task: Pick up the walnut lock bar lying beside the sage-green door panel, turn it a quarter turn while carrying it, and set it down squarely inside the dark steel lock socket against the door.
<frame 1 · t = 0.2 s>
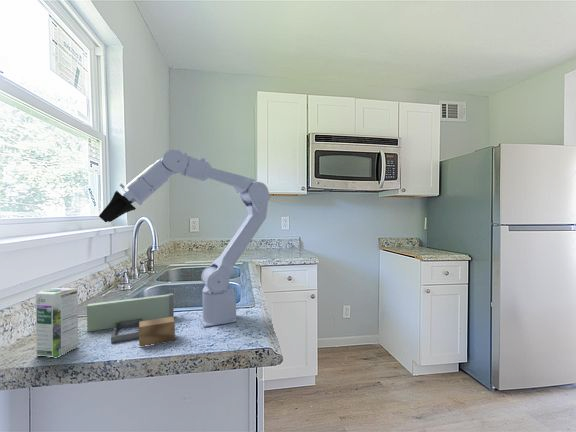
hand: (104, 219, 74), 31 cm above the worktop, tool tilted 45°, fingers open, 7 cm apart
lock bar: (157, 341, 74), on the worktop
syrup box: (58, 352, 68), on the worktop
door panel: (133, 323, 86), on the worktop
lock socket: (127, 332, 79), on the worktop
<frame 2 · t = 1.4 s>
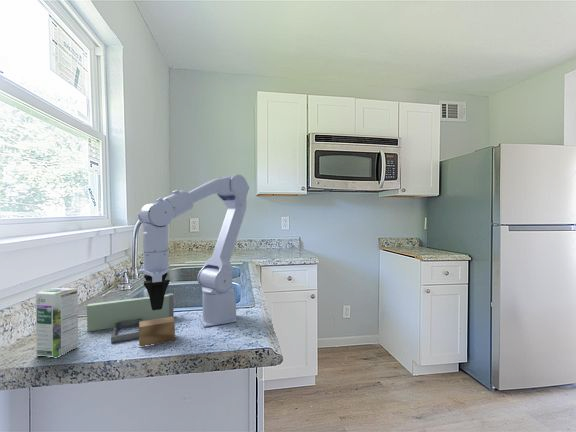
hand: (156, 305, 74), 9 cm above the worktop, tool pointing down, fingers open, 7 cm apart
nothing on the worktop moved.
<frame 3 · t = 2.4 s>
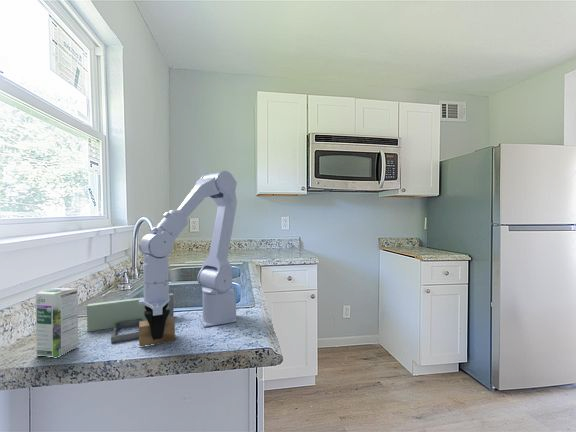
hand: (157, 335, 74), 1 cm above the worktop, tool pointing down, fingers closed on lock bar, 4 cm apart
lock bar: (157, 341, 74), on the worktop, touching gripper
everything else where it was.
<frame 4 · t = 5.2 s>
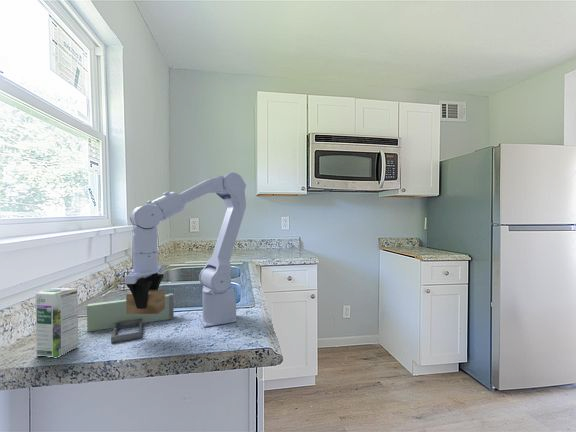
hand: (146, 305, 75), 8 cm above the worktop, tool pointing down, fingers closed on lock bar, 4 cm apart
lock bar: (146, 311, 75), point 7 cm above the worktop, touching gripper
everything else where it was.
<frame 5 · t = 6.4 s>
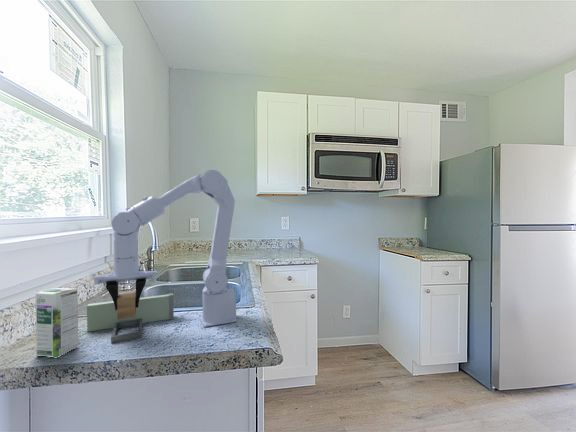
hand: (127, 307, 79), 7 cm above the worktop, tool pointing down, fingers closed on lock bar, 4 cm apart
lock bar: (127, 313, 79), point 5 cm above the worktop, touching gripper
everything else where it was.
when the fingers open (3 cm above the worktop, at t = 7.7 s): lock bar drops 1 cm, resting in lock socket.
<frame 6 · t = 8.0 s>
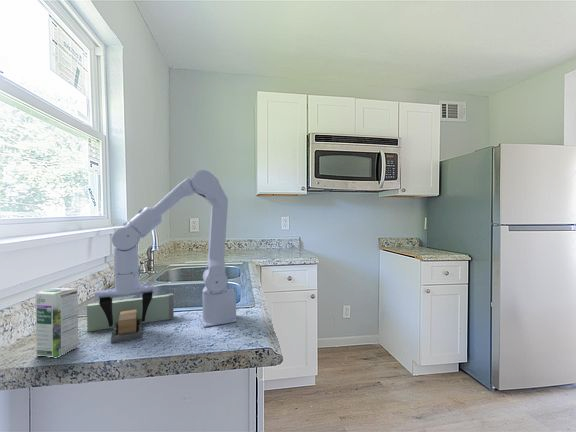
hand: (127, 322, 79), 3 cm above the worktop, tool pointing down, fingers open, 7 cm apart
lock bar: (128, 333, 79), resting in lock socket
everything else where it was.
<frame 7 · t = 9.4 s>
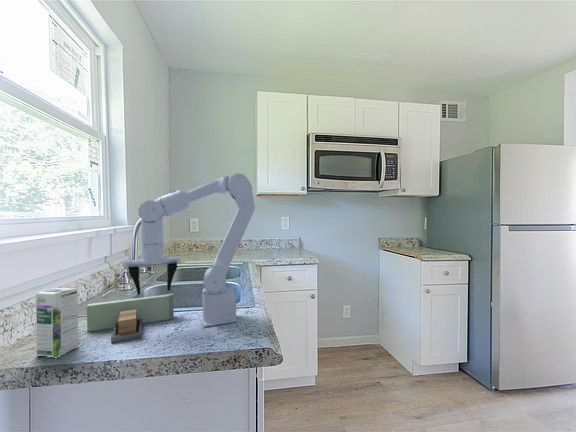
hand: (154, 291, 83), 10 cm above the worktop, tool pointing down, fingers open, 7 cm apart
nothing on the worktop moved.
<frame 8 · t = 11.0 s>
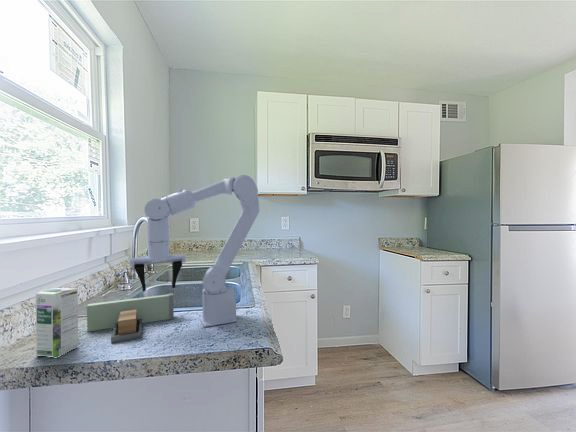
hand: (159, 288, 84), 10 cm above the worktop, tool pointing down, fingers open, 7 cm apart
nothing on the worktop moved.
at the end: lock bar 0.1 cm off-centre on the lock socket, point 0.0 cm above the lock socket's base; lock bar tilted 0°; the gripper is holding nothing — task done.
